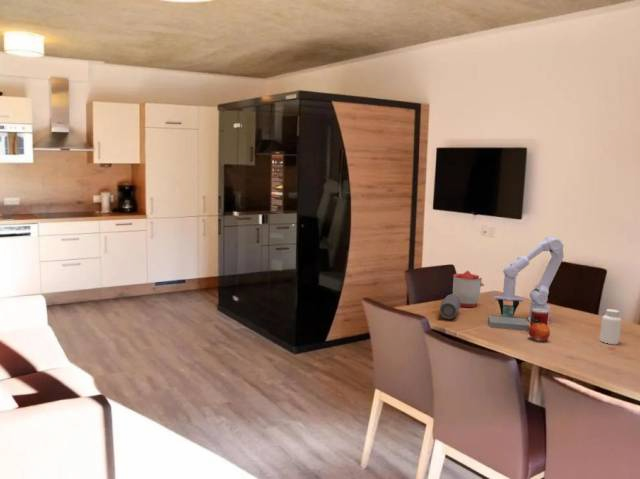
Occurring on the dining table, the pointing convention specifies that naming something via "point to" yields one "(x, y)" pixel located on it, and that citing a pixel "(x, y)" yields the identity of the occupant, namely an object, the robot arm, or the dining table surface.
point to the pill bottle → (610, 327)
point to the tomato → (539, 331)
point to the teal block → (508, 311)
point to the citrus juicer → (467, 288)
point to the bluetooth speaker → (450, 306)
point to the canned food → (539, 316)
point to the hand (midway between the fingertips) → (507, 314)
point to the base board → (508, 323)
